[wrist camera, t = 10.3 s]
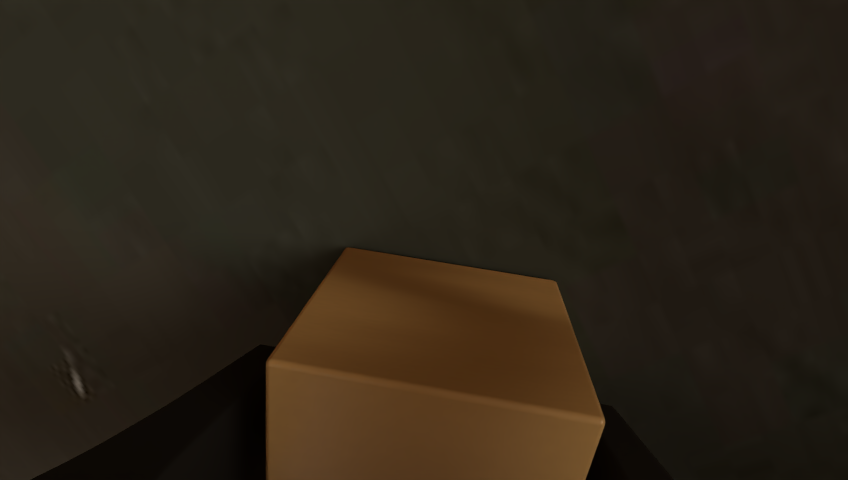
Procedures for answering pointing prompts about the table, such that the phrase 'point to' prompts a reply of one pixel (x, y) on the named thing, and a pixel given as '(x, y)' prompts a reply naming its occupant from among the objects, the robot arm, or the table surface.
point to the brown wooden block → (429, 378)
